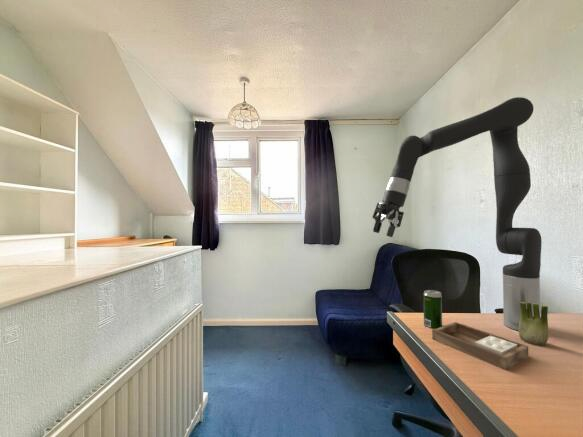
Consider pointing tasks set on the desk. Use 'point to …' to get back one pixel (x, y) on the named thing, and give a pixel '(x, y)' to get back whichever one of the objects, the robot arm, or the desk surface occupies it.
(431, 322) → the beer can
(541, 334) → the fennel bulb
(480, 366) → the desk surface
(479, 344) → the egg carton
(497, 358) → the crate
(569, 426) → the desk surface
